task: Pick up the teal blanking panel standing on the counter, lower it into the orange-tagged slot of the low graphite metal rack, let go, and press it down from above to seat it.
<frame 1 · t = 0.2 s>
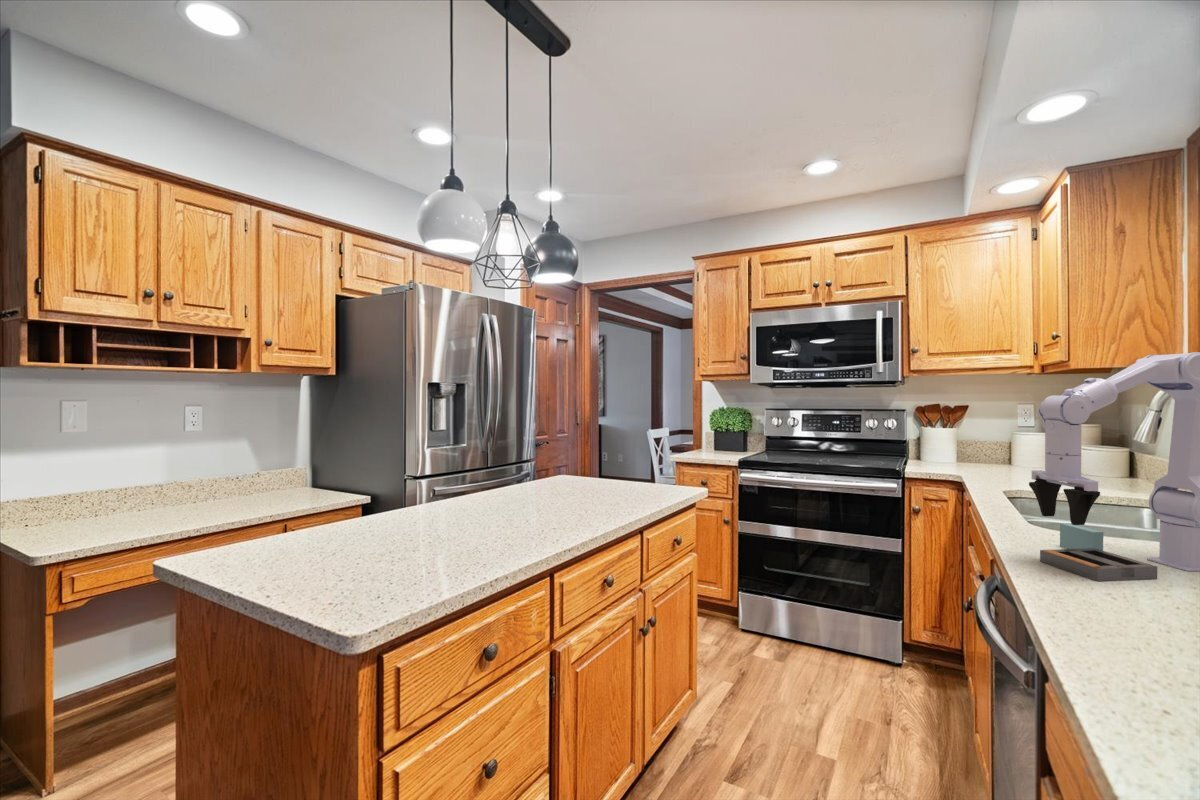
hand: (1062, 520, 116), 10 cm above the countertop, tool pointing down, fingers open, 7 cm apart
panel rack: (1095, 569, 114), on the countertop
blanking panel: (1080, 551, 127), on the countertop
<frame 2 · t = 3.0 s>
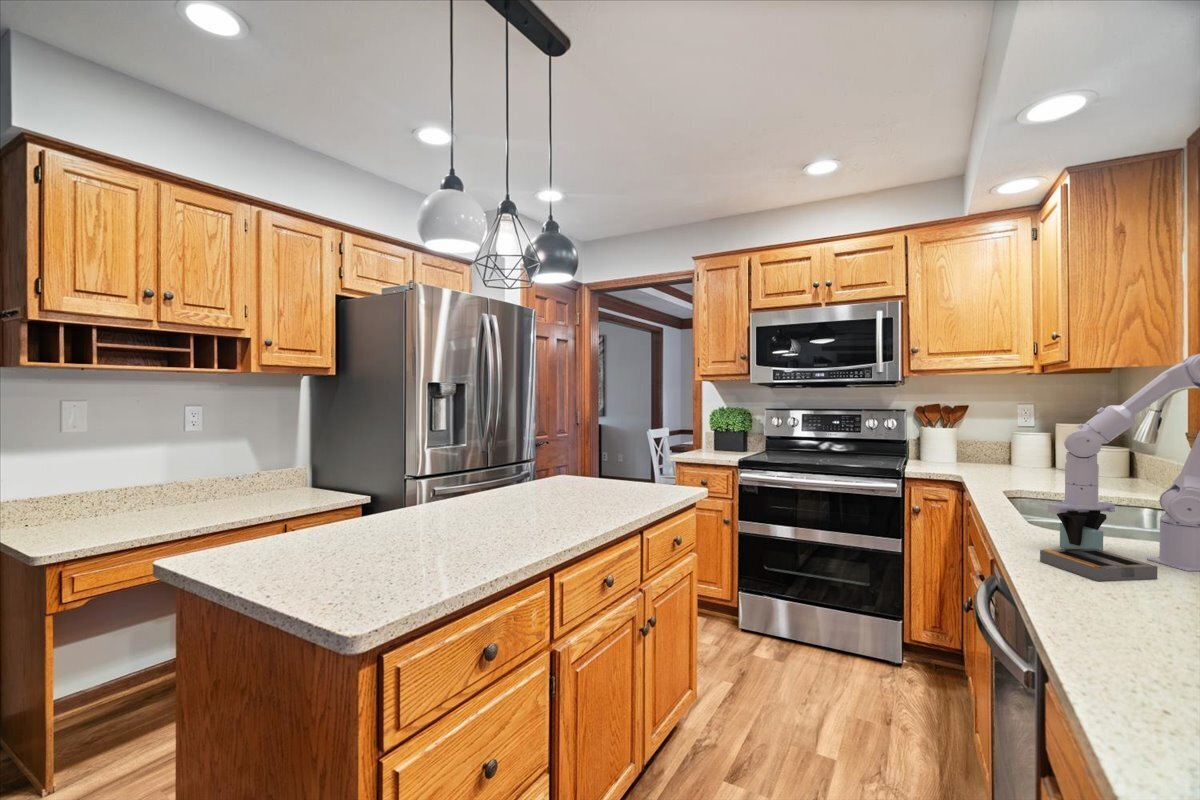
hand: (1080, 544, 127), 2 cm above the countertop, tool pointing down, fingers closed on blanking panel, 2 cm apart
blanking panel: (1080, 551, 127), on the countertop, touching gripper
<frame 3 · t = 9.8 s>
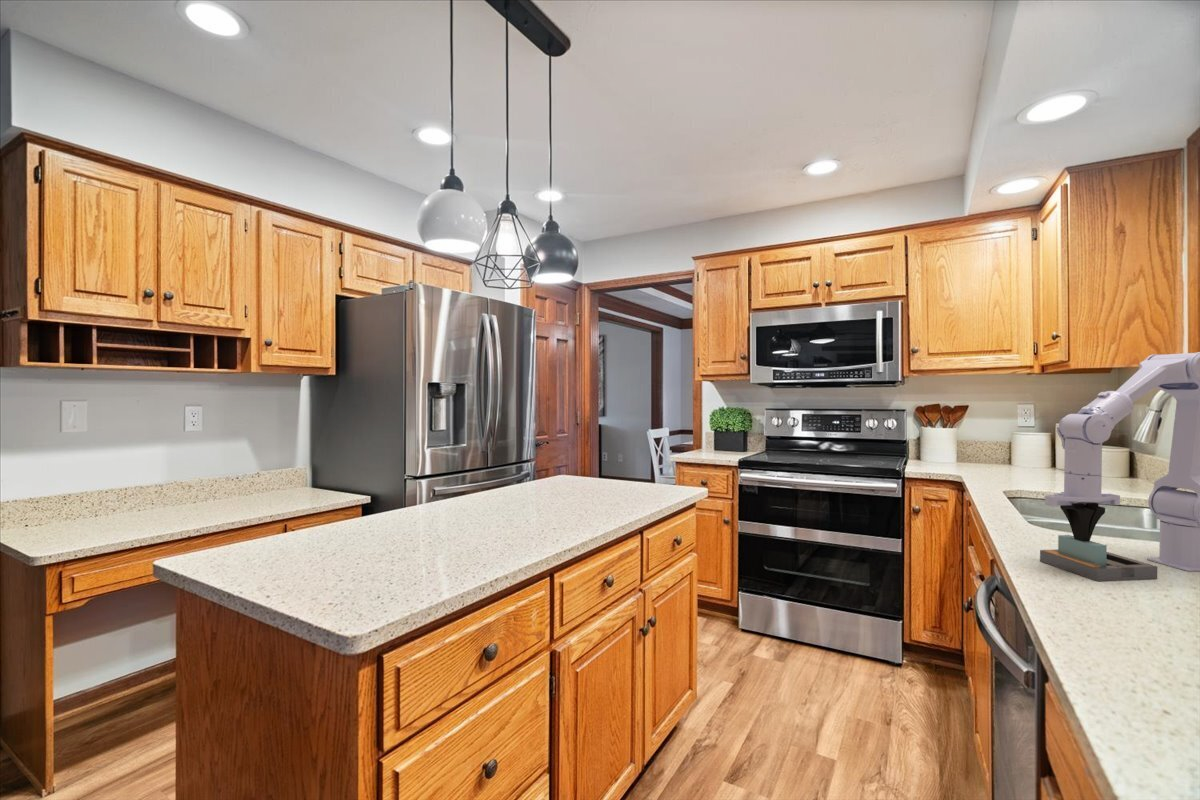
hand: (1081, 540, 114), 6 cm above the countertop, tool pointing down, fingers closed, pressing on blanking panel
blanking panel: (1081, 567, 114), point 1 cm above the countertop, touching gripper, panel rack
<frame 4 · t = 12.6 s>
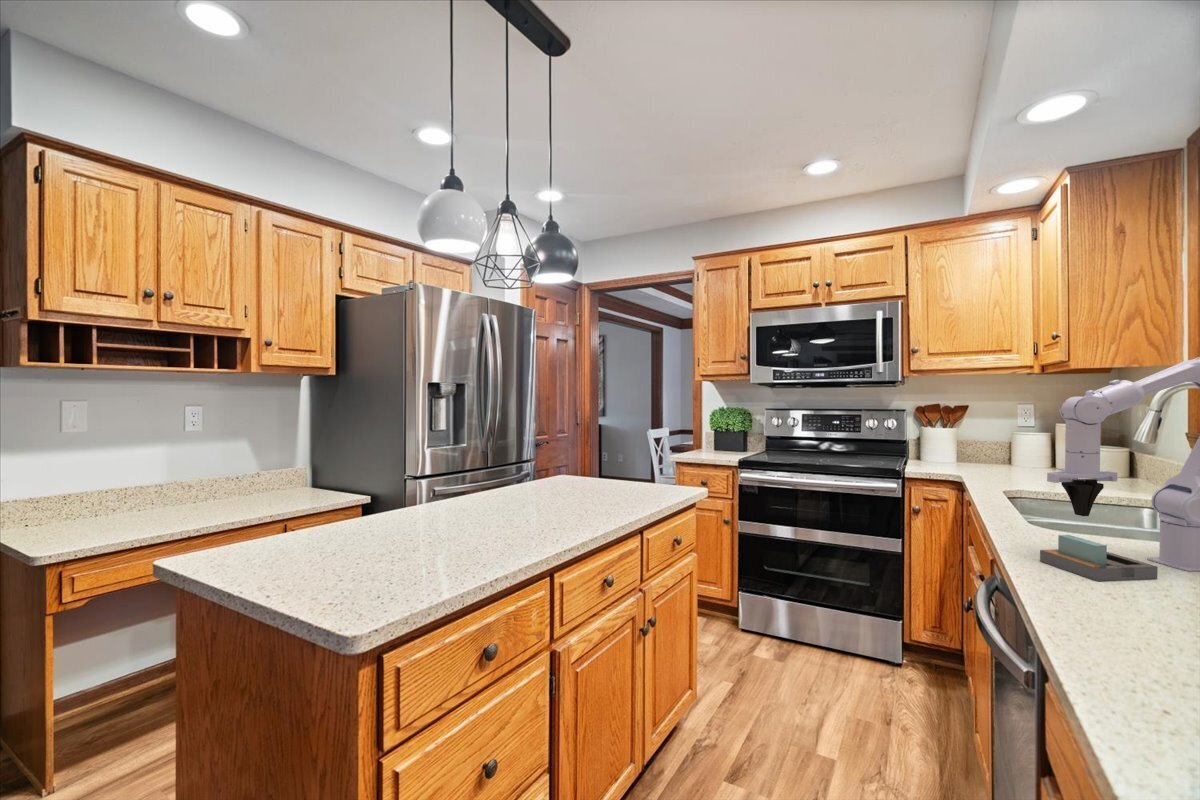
hand: (1081, 515, 121), 9 cm above the countertop, tool pointing down, fingers closed
blanking panel: (1081, 567, 114), point 1 cm above the countertop, touching panel rack
at the end: blanking panel 0.0 cm from the target spot on the panel rack, point 0.6 cm above the panel rack's base; blanking panel tilted 0°; the gripper is holding nothing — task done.
